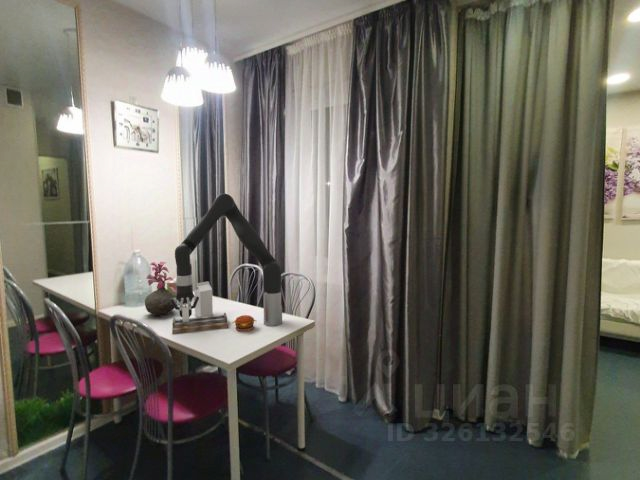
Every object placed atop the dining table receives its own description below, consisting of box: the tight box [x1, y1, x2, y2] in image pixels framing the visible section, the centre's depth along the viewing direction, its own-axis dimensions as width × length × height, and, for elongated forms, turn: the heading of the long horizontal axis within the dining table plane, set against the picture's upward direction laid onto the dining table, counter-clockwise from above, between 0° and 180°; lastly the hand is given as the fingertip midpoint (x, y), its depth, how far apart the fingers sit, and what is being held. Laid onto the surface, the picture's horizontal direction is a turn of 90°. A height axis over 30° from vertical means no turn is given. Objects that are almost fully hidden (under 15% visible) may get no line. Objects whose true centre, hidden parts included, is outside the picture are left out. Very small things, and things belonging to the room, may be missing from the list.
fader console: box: [171, 312, 229, 335], centre depth 170 cm, size 26×14×4 cm, turn 111°
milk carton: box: [193, 281, 214, 317], centre depth 186 cm, size 7×7×19 cm
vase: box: [144, 261, 177, 317], centre depth 186 cm, size 17×17×30 cm
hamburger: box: [232, 314, 257, 333], centre depth 167 cm, size 9×10×7 cm
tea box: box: [166, 276, 186, 306], centre depth 211 cm, size 15×10×15 cm
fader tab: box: [181, 304, 190, 322], centre depth 168 cm, size 3×4×9 cm, turn 21°
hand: (185, 316), depth 168 cm, fingers closed on fader tab, 3 cm apart
